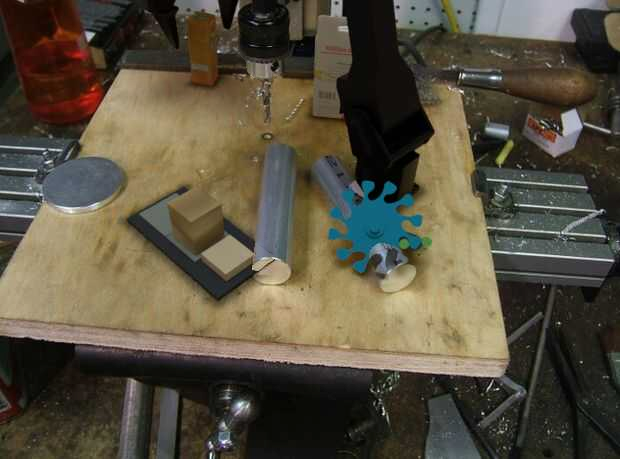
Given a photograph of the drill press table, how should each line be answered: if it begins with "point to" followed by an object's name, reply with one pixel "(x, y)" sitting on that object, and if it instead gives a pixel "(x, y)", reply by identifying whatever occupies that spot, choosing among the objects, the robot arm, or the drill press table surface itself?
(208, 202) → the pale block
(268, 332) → the drill press table surface
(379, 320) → the drill press table surface
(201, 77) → the supplement box
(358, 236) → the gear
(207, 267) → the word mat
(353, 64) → the robot arm
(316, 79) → the ink cartridge box
